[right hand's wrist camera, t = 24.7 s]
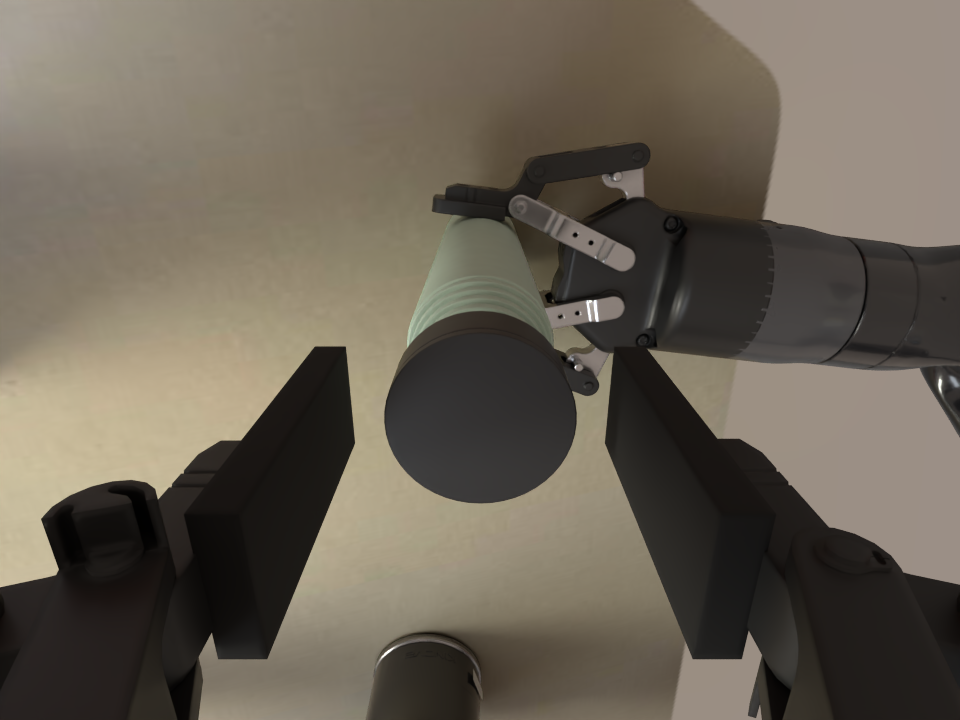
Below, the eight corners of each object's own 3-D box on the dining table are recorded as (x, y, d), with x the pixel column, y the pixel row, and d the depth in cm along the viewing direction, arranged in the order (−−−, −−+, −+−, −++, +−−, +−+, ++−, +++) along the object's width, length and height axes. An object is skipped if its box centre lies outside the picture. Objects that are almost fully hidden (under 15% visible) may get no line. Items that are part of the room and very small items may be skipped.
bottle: (442, 272, 36) (384, 480, 14) (446, 199, 35) (387, 309, 13) (512, 277, 36) (561, 492, 14) (519, 205, 35) (588, 325, 13)
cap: (379, 444, 15) (367, 480, 13) (415, 289, 13) (406, 310, 12) (536, 481, 15) (543, 520, 14) (589, 335, 14) (604, 360, 12)
